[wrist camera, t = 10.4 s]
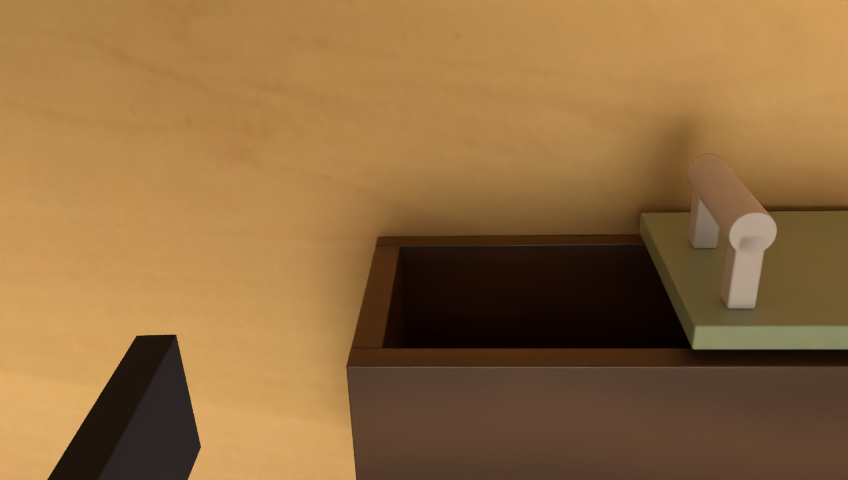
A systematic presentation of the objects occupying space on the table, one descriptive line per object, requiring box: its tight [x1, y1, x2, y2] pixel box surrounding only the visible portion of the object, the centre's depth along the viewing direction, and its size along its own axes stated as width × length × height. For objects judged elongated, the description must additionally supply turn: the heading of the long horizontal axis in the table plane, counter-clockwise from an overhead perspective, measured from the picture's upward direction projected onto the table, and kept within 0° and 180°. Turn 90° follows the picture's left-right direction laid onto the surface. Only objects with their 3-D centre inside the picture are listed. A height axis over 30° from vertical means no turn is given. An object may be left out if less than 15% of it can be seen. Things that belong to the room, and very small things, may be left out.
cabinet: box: [346, 235, 848, 480], centre depth 36 cm, size 12×28×11 cm, turn 92°
